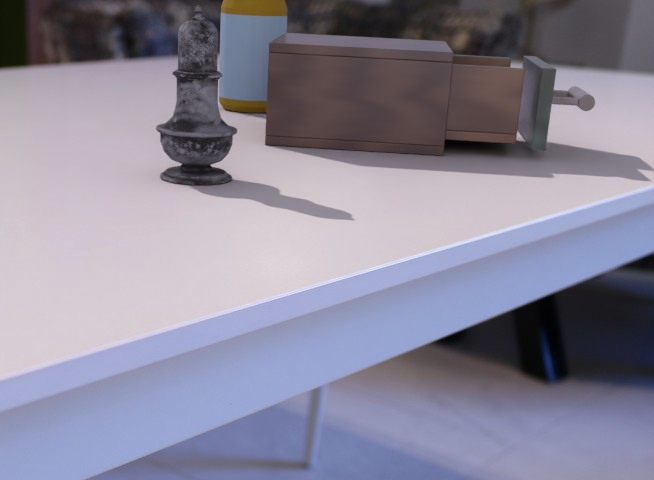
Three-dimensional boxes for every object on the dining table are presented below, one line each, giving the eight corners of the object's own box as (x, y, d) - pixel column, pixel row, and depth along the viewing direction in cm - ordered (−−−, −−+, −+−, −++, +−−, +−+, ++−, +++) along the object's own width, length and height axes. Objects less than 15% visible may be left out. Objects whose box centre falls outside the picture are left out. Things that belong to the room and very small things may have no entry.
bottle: (232, 113, 110) (237, -41, 105) (209, 104, 116) (212, -42, 110) (293, 112, 113) (300, -38, 107) (267, 104, 119) (273, -39, 113)
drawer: (570, 130, 103) (580, 58, 100) (594, 153, 90) (607, 71, 88) (379, 119, 104) (384, 48, 102) (377, 140, 92) (383, 59, 89)
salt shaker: (230, 170, 80) (235, 4, 76) (241, 186, 75) (246, 8, 71) (153, 169, 79) (153, 1, 75) (158, 185, 74) (158, 4, 70)
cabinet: (436, 131, 105) (445, 41, 102) (443, 155, 91) (453, 52, 88) (281, 122, 106) (285, 32, 103) (265, 144, 92) (268, 42, 89)
